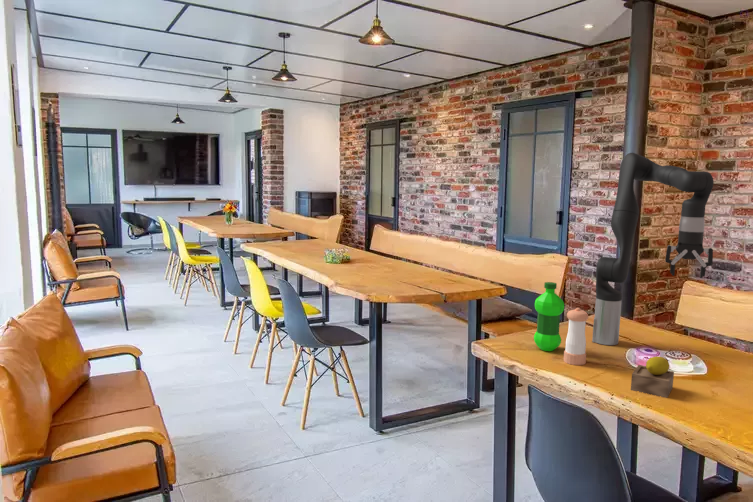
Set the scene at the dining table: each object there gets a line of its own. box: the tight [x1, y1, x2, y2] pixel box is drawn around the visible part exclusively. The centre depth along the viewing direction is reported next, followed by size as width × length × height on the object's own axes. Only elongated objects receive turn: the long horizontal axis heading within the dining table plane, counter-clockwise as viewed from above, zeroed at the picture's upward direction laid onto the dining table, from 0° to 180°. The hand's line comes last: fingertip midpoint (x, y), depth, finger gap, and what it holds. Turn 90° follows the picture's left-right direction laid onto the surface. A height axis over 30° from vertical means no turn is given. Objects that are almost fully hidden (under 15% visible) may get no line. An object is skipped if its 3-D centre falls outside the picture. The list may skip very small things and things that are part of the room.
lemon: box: [645, 355, 670, 375], centre depth 170 cm, size 6×6×8 cm
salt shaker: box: [563, 307, 589, 366], centre depth 193 cm, size 7×7×19 cm
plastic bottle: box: [533, 281, 565, 352], centre depth 206 cm, size 10×10×25 cm
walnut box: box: [630, 364, 675, 399], centre depth 170 cm, size 10×10×6 cm
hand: (687, 276), depth 193 cm, fingers open, 8 cm apart
